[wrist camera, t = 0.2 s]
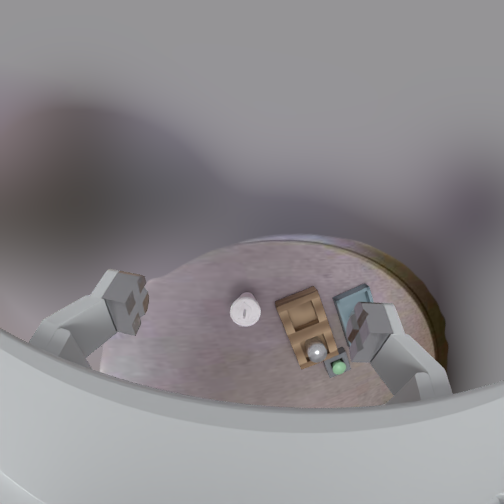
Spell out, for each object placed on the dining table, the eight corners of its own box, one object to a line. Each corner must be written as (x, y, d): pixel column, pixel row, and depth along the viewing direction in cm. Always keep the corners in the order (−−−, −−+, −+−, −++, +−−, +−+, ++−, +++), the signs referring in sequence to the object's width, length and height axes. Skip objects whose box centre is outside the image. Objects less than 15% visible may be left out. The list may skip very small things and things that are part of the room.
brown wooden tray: (334, 346, 67) (339, 354, 62) (299, 361, 67) (301, 369, 63) (313, 286, 65) (317, 290, 60) (274, 301, 65) (276, 307, 61)
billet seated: (324, 347, 65) (329, 358, 59) (307, 353, 65) (311, 365, 59) (318, 333, 64) (324, 343, 58) (302, 339, 64) (306, 350, 58)
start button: (344, 364, 66) (347, 370, 62) (331, 370, 66) (334, 376, 63) (340, 354, 65) (344, 360, 62) (328, 360, 65) (331, 366, 62)
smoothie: (259, 285, 65) (259, 302, 51) (261, 310, 66) (262, 333, 52) (232, 288, 65) (225, 306, 51) (235, 313, 66) (230, 336, 52)
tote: (377, 331, 66) (381, 335, 63) (347, 345, 66) (351, 350, 63) (364, 283, 64) (369, 286, 61) (332, 297, 65) (336, 301, 62)
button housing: (347, 363, 67) (350, 369, 64) (327, 372, 68) (330, 378, 65) (342, 346, 67) (345, 351, 64) (321, 355, 67) (323, 360, 64)
